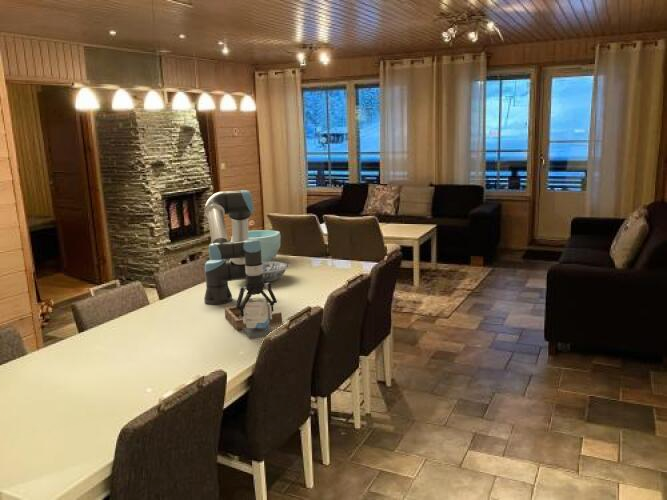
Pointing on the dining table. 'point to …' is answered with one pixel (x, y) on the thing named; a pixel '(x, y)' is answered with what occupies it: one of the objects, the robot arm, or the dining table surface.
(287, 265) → the ceramic bowl
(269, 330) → the plinth
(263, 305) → the ink box
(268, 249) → the bowl
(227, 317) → the brown wooden shallow tray
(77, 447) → the dining table surface
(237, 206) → the robot arm
